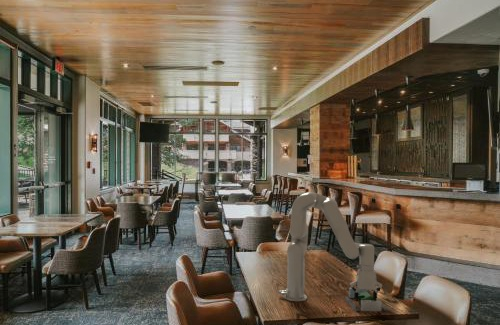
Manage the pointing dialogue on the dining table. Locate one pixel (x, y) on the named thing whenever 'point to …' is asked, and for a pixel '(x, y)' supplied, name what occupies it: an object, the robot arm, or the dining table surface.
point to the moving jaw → (352, 292)
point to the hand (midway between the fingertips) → (365, 299)
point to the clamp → (364, 296)
